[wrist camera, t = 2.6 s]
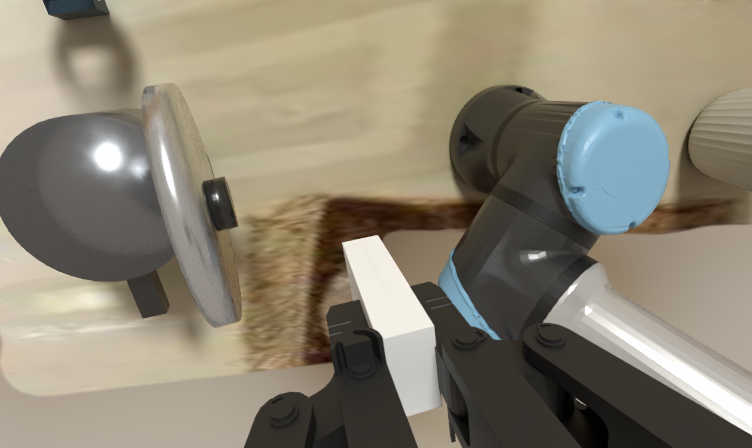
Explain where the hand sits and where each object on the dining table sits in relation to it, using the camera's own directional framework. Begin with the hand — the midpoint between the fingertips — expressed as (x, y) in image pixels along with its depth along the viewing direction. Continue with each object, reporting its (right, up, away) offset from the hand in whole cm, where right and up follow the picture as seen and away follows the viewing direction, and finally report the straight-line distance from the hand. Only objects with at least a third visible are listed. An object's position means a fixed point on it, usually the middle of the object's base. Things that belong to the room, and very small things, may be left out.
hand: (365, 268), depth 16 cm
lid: (-14, +3, +13) cm, 19 cm away
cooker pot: (-27, +5, +32) cm, 42 cm away
